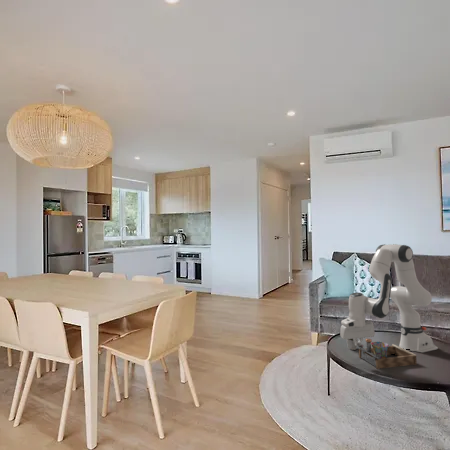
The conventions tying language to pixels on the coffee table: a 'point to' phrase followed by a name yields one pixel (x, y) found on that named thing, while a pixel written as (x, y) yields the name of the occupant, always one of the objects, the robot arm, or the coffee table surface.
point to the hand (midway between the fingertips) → (357, 345)
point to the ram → (366, 356)
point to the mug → (380, 348)
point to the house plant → (351, 344)
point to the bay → (401, 360)
